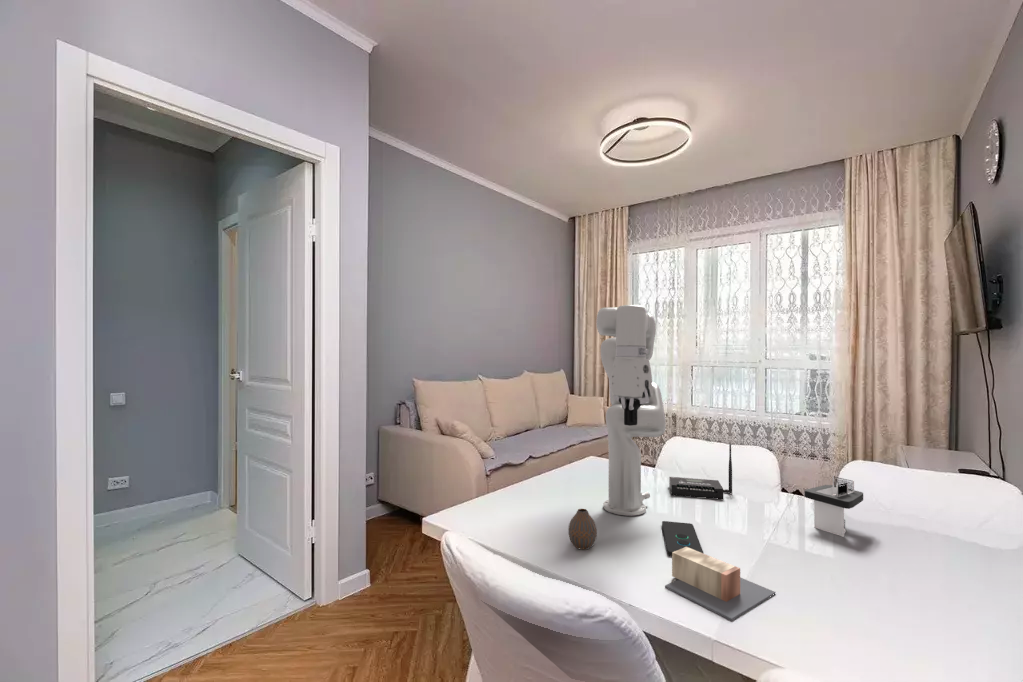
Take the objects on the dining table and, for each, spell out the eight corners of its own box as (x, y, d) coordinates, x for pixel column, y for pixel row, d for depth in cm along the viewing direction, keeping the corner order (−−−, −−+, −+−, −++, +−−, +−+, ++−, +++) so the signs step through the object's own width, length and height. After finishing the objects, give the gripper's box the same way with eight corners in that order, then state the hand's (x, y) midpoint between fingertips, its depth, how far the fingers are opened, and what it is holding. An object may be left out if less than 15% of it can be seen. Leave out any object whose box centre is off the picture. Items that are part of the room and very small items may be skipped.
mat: (710, 566, 103) (710, 564, 103) (775, 594, 91) (775, 592, 91) (665, 587, 93) (665, 585, 93) (731, 620, 82) (731, 618, 82)
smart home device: (667, 550, 108) (661, 520, 127) (667, 558, 108) (661, 526, 127) (705, 554, 106) (693, 523, 125) (705, 562, 106) (693, 529, 125)
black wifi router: (671, 498, 152) (671, 446, 152) (669, 486, 165) (669, 438, 165) (738, 503, 146) (737, 449, 147) (729, 491, 160) (729, 441, 160)
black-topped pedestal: (867, 560, 107) (866, 502, 107) (759, 522, 130) (759, 475, 130) (921, 537, 120) (921, 486, 120) (815, 507, 143) (815, 464, 143)
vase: (598, 542, 115) (598, 507, 115) (594, 554, 109) (594, 516, 109) (571, 538, 117) (571, 504, 118) (565, 549, 111) (565, 513, 111)
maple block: (686, 546, 100) (740, 568, 90) (686, 569, 100) (740, 593, 90) (672, 552, 97) (726, 575, 88) (672, 576, 97) (726, 601, 87)
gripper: (664, 353, 114) (664, 427, 114) (618, 353, 126) (618, 419, 126) (644, 353, 110) (644, 430, 110) (599, 353, 122) (599, 422, 122)
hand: (630, 424), depth 118 cm, fingers closed
